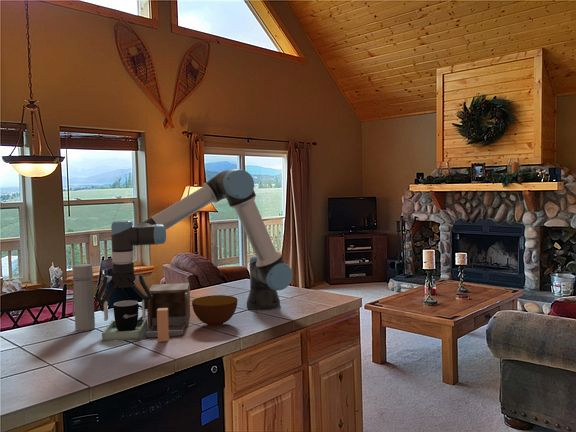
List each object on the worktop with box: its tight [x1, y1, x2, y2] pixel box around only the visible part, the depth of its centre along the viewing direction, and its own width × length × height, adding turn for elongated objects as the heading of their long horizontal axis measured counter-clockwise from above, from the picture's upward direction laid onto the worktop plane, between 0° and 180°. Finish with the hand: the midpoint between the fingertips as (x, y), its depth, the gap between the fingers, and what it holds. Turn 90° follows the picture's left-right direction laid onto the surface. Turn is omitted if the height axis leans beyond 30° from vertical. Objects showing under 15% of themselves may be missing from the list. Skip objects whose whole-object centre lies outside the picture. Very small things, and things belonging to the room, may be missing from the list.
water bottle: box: [70, 263, 96, 332], centre depth 187 cm, size 9×8×25 cm
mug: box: [112, 300, 142, 331], centre depth 184 cm, size 12×9×10 cm
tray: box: [101, 318, 148, 342], centre depth 181 cm, size 13×16×3 cm
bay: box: [146, 282, 191, 330], centre depth 195 cm, size 15×17×14 cm
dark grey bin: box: [146, 308, 186, 343], centre depth 181 cm, size 13×21×11 cm, turn 8°
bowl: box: [191, 294, 239, 329], centre depth 190 cm, size 18×18×10 cm
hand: (125, 319), depth 181 cm, fingers open, 13 cm apart
